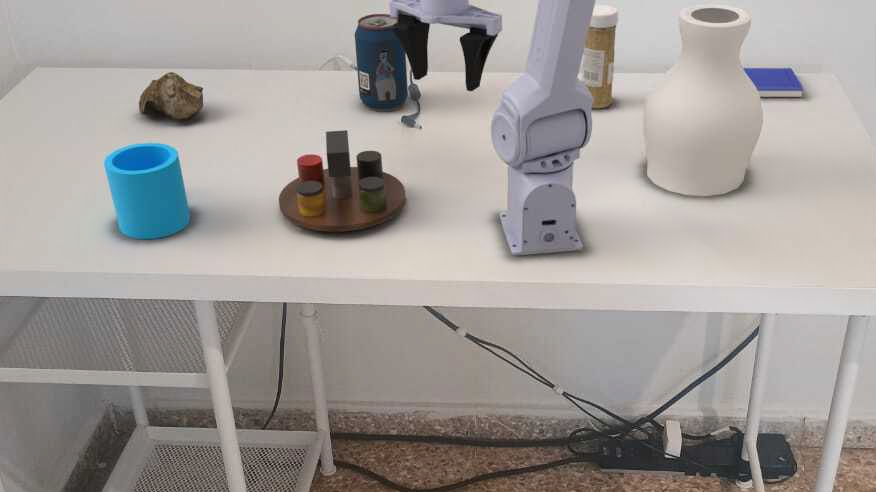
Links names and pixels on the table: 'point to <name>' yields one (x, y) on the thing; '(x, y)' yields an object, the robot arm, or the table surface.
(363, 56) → the soda can
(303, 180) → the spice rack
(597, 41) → the sprinkles bottle
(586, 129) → the robot arm
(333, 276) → the table surface
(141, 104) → the fossilized seashell
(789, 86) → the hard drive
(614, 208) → the table surface
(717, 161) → the vase
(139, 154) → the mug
